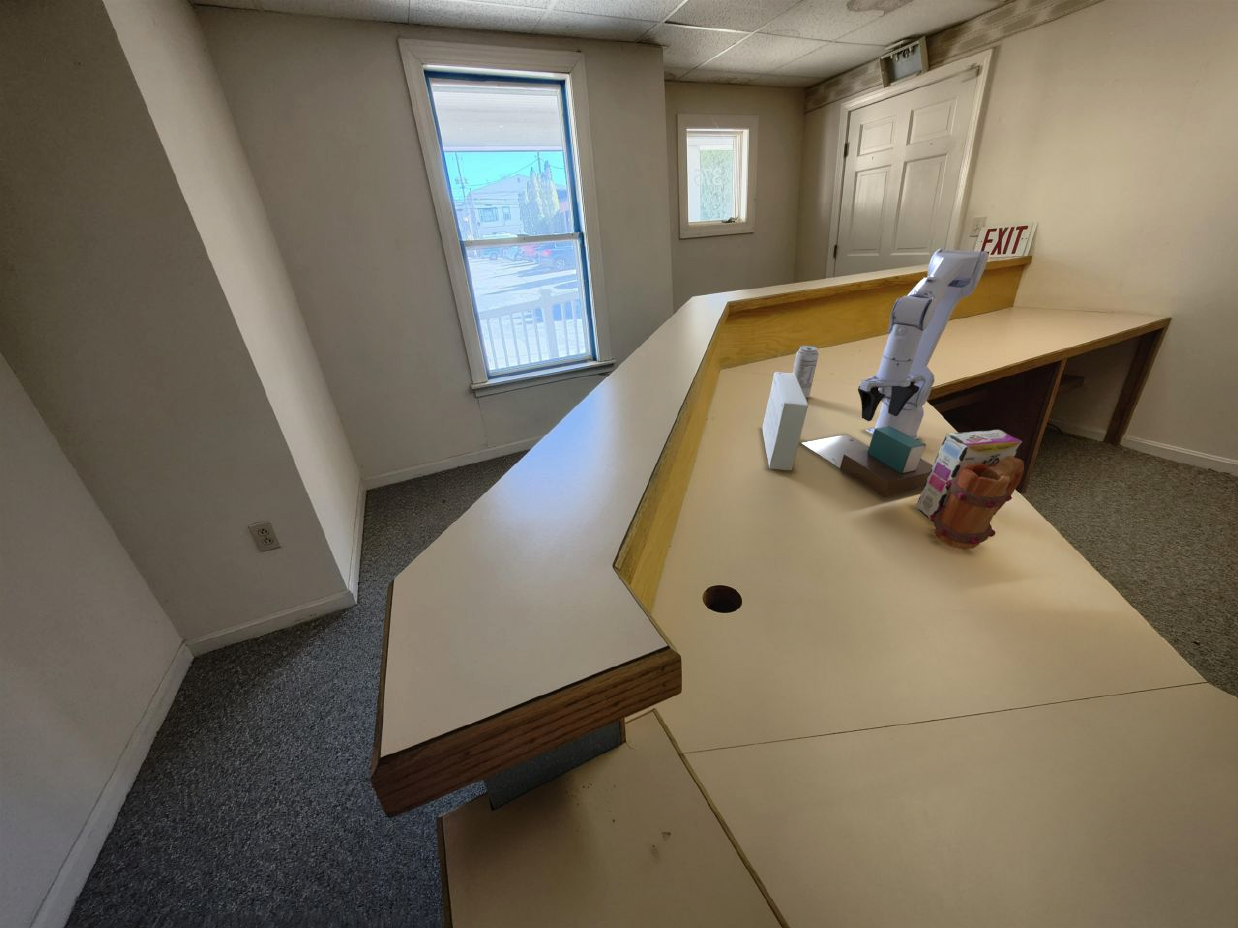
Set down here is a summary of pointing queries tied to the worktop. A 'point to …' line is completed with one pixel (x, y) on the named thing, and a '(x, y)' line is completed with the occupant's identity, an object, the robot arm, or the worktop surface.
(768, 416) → the skincare box
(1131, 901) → the worktop surface
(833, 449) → the step shelf
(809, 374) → the energy drink can
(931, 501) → the candy bar box
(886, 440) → the teal box
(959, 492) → the mug
